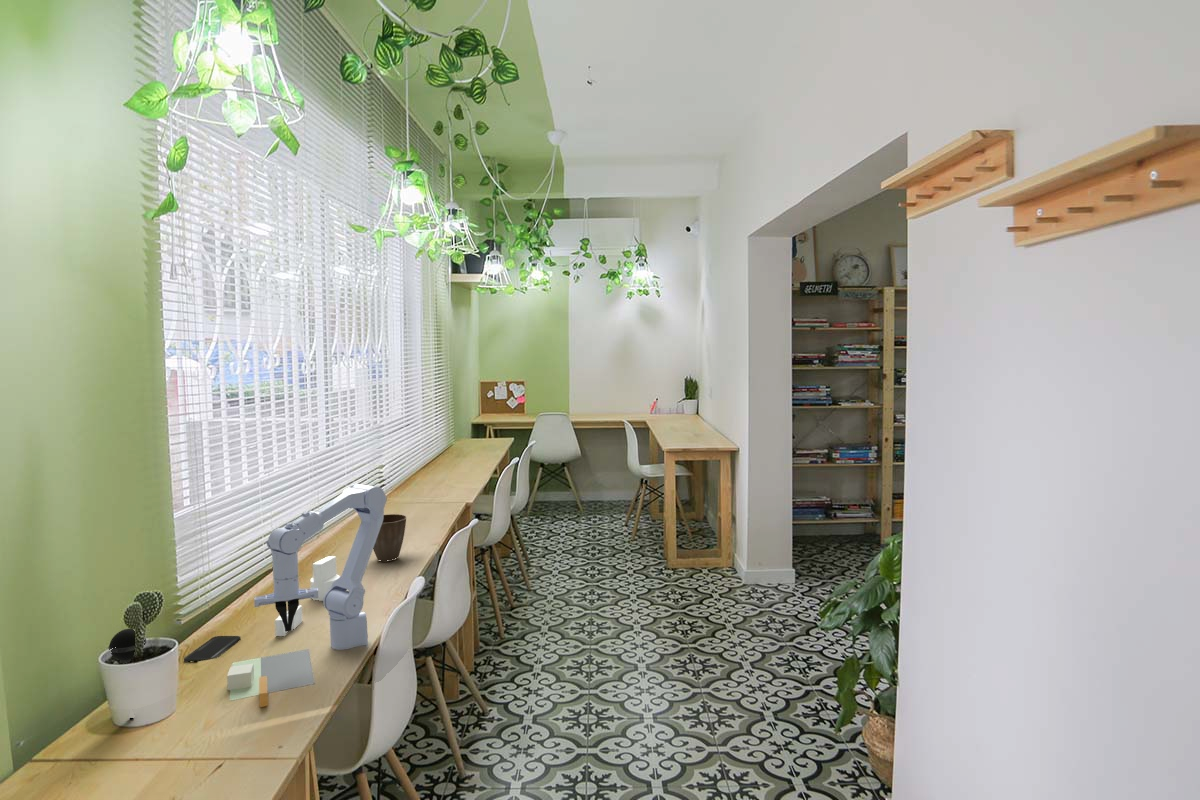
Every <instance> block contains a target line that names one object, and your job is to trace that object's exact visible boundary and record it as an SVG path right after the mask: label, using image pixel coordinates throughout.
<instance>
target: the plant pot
mask: <svg viewBox="0 0 1200 800" xmlns="http://www.w3.org/2000/svg"><path fill="white" fill-rule="evenodd" d="M406 523H407V516H406V515H404V514H397V513H396V514H394V513H393V514H391V513H389V514H388V513H387V514H384V519H383V522H382V525H381V528H380V531H379V534H378V536H377V539H376V542H375V545H374V548H373V550H372V551H373V552H374V554H375V555H374V556H376V559H377V561H378V560H381V561H387V560H392V559H395V558H397V557H398V558H399V556H400V552H401V550H402V546H403V542H404V537H405V533H406V532H405V531H406Z"/></svg>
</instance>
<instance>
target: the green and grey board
mask: <svg viewBox="0 0 1200 800" xmlns="http://www.w3.org/2000/svg"><path fill="white" fill-rule="evenodd" d="M247 664H254V680H253V683H252V686H251V687H246V688H240V689H233V690H229V702H231V701H235V700H241V699H248V698H252V697H257V696H259V677H264V676H267V692H268V694H272V693H277V692H280V691H286V690H292V689H296V688H301V687H305V686H310V685H316V682H315V676H314V672H313V665H312V664H313V663H312V660H311V653H310V649H309V648H307V649H301V650H295V651H290V652H289V651H288V652H285V653H279V654H274V655H268V656H262V657H261V656H260V657H257V658H252V659H251V658H250V659H246V660H241V661H240V660H239V661H235V662H232V664H231V667H233V666H240V665H247Z"/></svg>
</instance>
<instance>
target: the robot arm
mask: <svg viewBox="0 0 1200 800" xmlns="http://www.w3.org/2000/svg"><path fill="white" fill-rule="evenodd" d="M387 501H388V498H387V495H386V493H385V491H384V489H382V487H379V486H372V485H366V484H360V483H353V484H351V485H349V487H346V488H344V489H343V491H342V492H341V494H338V496H336V497H335V498H333V499H332V500H331V501H329V502H328V503H327V504H325V505H324V506H322V507H321V508H320V509H318V510H317V511H312V510H308V511H303V512H302V513H301V516H299V517H298V518H296V519H294V520H293V521H291V522H289V521H288V522H287V523H286V524H285V526H284V527H277V528H276V529H274V530H272V531H271V533H270V534H269V536H268V540H266V541H265V542H266V546H267V548H268V549H269V550H270V553H271V557H272V578H273V579H272V581H273V592H272V593H269V594H264V595H260V596H255V597H254V598H253V600H254V601H253V603H254V604H253V605H254V608H259V607H260V606H266V605H272V604H273V605H275V609H276V611H277V613H278V616H281V618H282V621H283V623H284V627H285V631H289V632H291V631H292V630H291V628H292V622H293V618H294V615H295V613H296V610H297V608H298V606H299V605H300V600H307V599H311V598H318V588H315V589H311V588H302V589H301V588H300V581H299V560H298V559H299V558H298V551H299V550H301V547H302V545H303V543H305V542H306V540H308V539H310V538H311V537H313V536H314V535H315V534H318V533H319V532H320V531H322V530H323V528H324V524H325V523H326V522H328V521H329V520H331V519H333V518H334V517H336V516H337V515H339V514H342V513H343V512H345V511H346V510H348V509H353V510H354V511H355V512H356V513H357V514H358V517H359V519H360V520H361V521H360V524H359V526H358V530H357V532H356V535H355V537H354V540H353V543H352V546H351V549H350V551H349V554H348V557H347V560H346V562H345V565H344V567H343V570H342V573H341V575H340V578H338V579H337V580H335V581H334V582H333V583H332V586H331V588H330V589H329V591H328V592H327V593H326V595H325V597H324V600H323V603H322V604H323V607H324V608H325V610H327V611H328V615H329V633H330V635H329V636H330V637H329V638H330V648H331V649H333V650H338V651H340V650H341V651H342V650H348V649H352V648H355V647H360V646H366V648H367V649H368V648H369V644H368V643H369V641H368V640H369V639H368V638H369V633H368V620H367V614H366V612H365V611H362V609H363V607H364V597H365V594H366V589H365V588H364V585H363V583H362V581H363V578H364V575H365V573H366V569H367V567H368V564H369V561H370V558H371V555H372V552H373V551H374V550H373V548H374V545H375V542H376V539H377V536H378V534H379V531H380V528H381V525H382V522H383V519H384V515H385V514H384V513H385V512H384V511H385V507H386V504H387ZM287 611H288V622H287Z"/></svg>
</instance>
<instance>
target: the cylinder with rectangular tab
mask: <svg viewBox="0 0 1200 800" xmlns="http://www.w3.org/2000/svg"><path fill="white" fill-rule="evenodd" d="M337 570H338V569H337V556H335V555H334V556H333V555H331V556H330V555H328V556H326V557H324V558H322V559H320V560H317V561H316V562H314V563H312V577H311V578H310V589H315V588H318V598H312V599H313V600H312V599H311V600H312V601H315V600H319V601H318V602H322V601H323V600H324V597H325V595H326V593H327V592H328V591H329V589H330V588H331V586H332V583H333V582H334V581H335V580H337V579H338V578H340V577H341V575H339V574H337V573H338V571H337Z"/></svg>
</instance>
